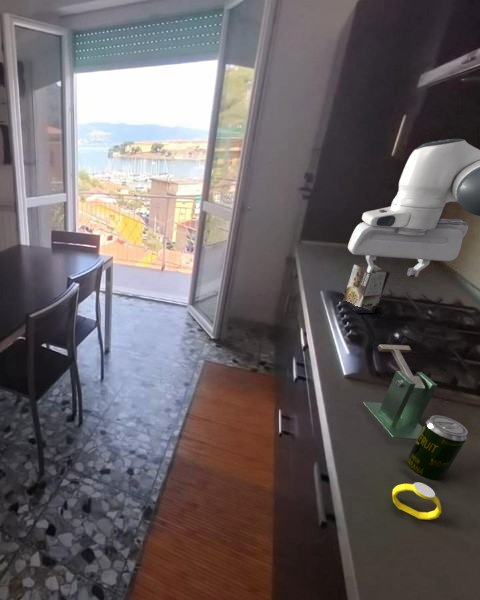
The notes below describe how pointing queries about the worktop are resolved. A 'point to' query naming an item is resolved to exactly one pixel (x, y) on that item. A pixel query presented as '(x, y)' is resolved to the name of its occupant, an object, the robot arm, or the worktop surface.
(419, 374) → the bracket
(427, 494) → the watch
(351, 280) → the coffee box
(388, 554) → the worktop surface
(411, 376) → the lever
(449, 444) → the green drink can
